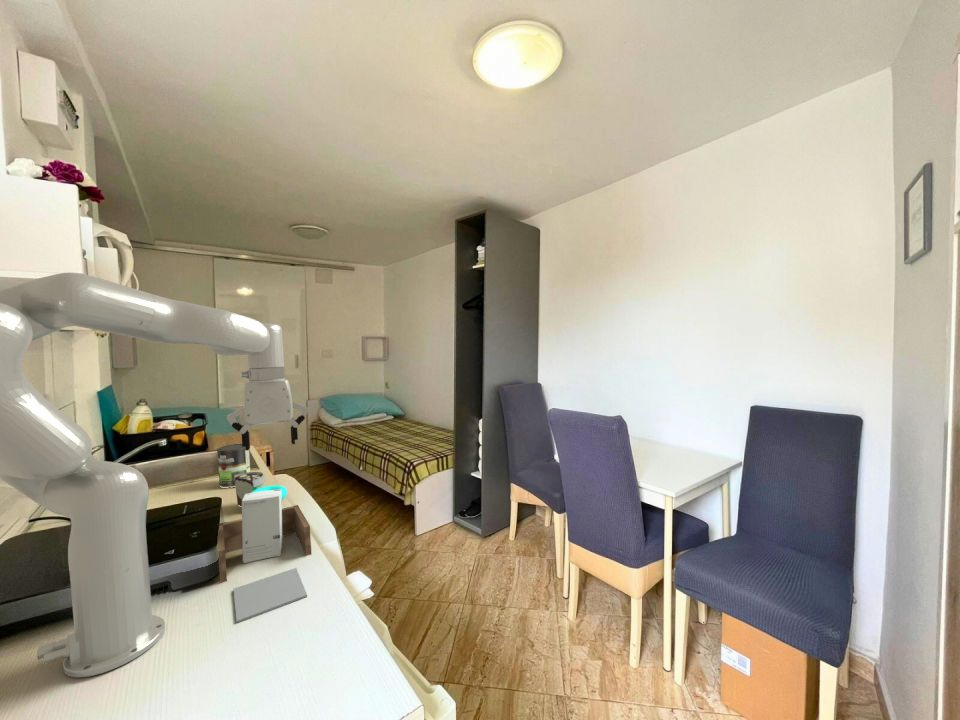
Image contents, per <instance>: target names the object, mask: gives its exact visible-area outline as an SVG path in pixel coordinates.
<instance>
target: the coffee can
mask: <svg viewBox="0 0 960 720" xmlns="http://www.w3.org/2000/svg"><path fill="white" fill-rule="evenodd" d="M216 451H217V466H218V480H219V483H218V484H219V486H221V487H235V481H234V475H237V474H241V473H247V472H251V464H250V463H251V461H250V449H249V450H247V451H246V446H245V447H242V443H235V444H228V445H224V446H220V447H218V448H216ZM235 488H236V487H235Z"/></svg>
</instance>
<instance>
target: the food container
mask: <svg viewBox="0 0 960 720" xmlns="http://www.w3.org/2000/svg"><path fill="white" fill-rule="evenodd" d="M234 481H235V494H236V502H237V506H238V505H240V506H242V500H243V497H244V495H245V494H248V493H251V492H253V491H254V490H256V489H259V488H262V487H264V483H265V482H266V481H267V480H266V477H265V475H264V473H263V472H261V471H250V472H247V473H241V474H237V475H234Z"/></svg>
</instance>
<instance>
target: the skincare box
mask: <svg viewBox="0 0 960 720" xmlns="http://www.w3.org/2000/svg"><path fill="white" fill-rule="evenodd" d="M282 501H283V500H281V489H278V490H270V491H260V492H254V493H248V494H245V495H244V497H243V500H242V507H241V519H242V547H243V548H242V562H243V564H246V563H247V564H248V563H251V562H255V561H260V560H263V559H264V560H265V559H269V558H274V557H280V556H281V554H282V550H283V536H282V509H283V508H282Z"/></svg>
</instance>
